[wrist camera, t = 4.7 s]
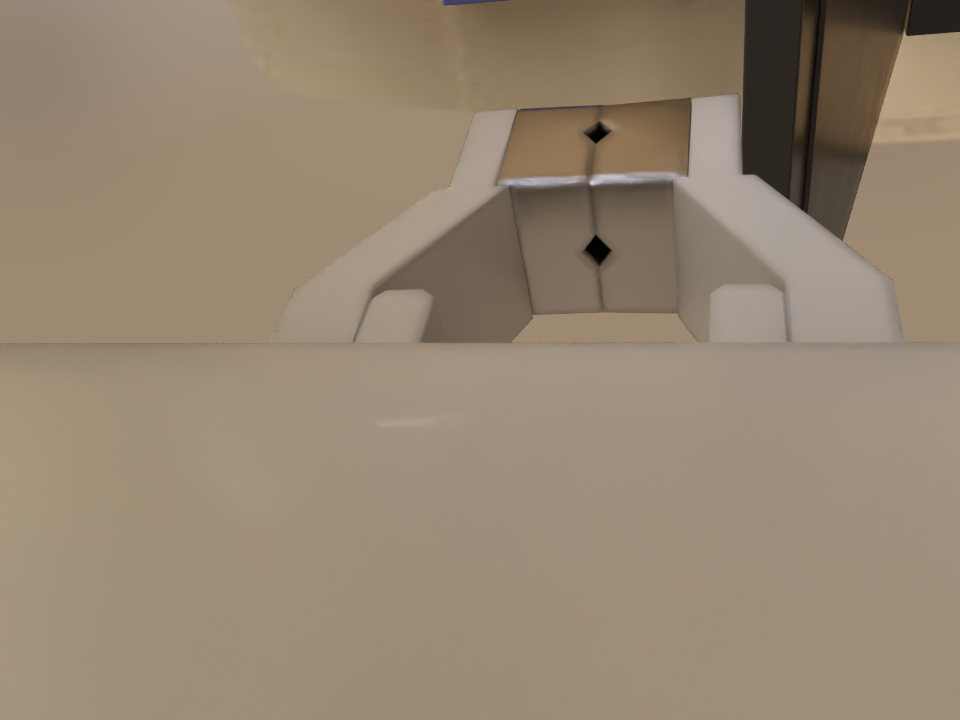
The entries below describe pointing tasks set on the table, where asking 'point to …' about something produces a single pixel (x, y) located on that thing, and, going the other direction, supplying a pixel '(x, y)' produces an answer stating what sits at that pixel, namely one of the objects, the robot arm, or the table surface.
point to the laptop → (932, 17)
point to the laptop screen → (816, 96)
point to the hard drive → (465, 1)
